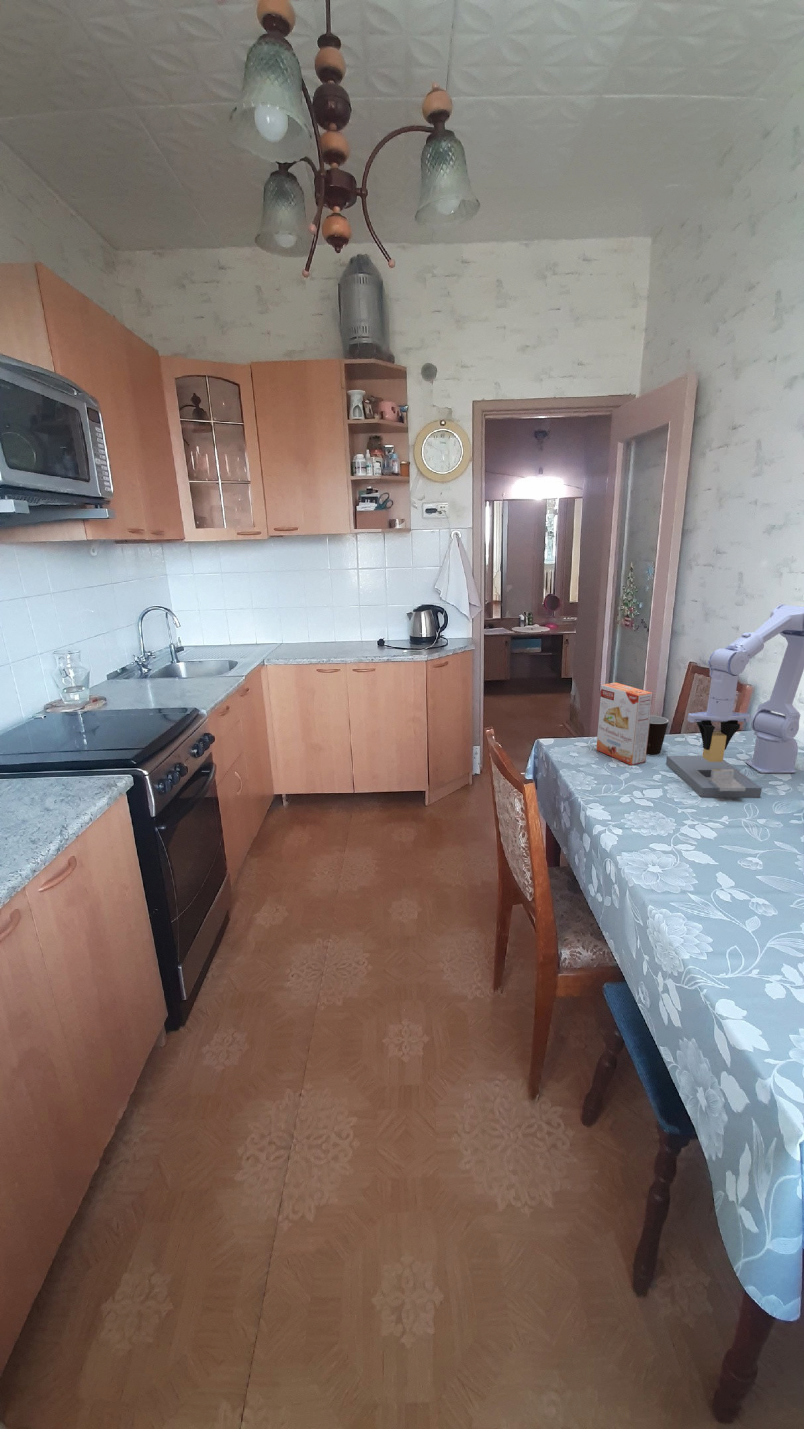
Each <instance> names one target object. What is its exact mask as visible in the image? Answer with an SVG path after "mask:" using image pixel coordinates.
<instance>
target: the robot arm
mask: <svg viewBox="0 0 804 1429" xmlns="http://www.w3.org/2000/svg"><path fill="white" fill-rule="evenodd" d="M778 635H780V636H781V637H783V638H785V640H786V641H787V646H786V648H785V652H784V655H783V657H782V661H781V664H780V667H779V670H778V673H777V677H776V679H775V682H774V686H773V689H772V691H771V694H770V695H771V696H770V698H769V700H767V701H765V702H763V703H760V704H758V706H757V709H756V711H755V713H754V714H753V715H751V714H750V713H749V712H748V713H747V712H736V711H735V712H734V706H735V701H736V693H737V688H738V687H737V686H738V679H739V675H740V674H742V673H743V672H744V670H745V669H746V667H747V665H748V664H749V662H750V660H751V659H753V658H754V657H755V656H756V655H758V654H759V653H760V652H762V651H763V649H765V648H764V647H765V643H767V642H768V641H770V640H771V639H774V637H776V636H778ZM707 666H708V667H707V668H708V669H709V678H711V679H710V686H709V691H708V692H709V693H708V699H707V700H708V701H707V707H706V711H699V712H689V713H687V717H686V718H687V719H686V720H687V721H688V722H689V723H691V724H692V723H696V724H697V727H698V729H699V731H700V735H701V739H702V740H701V742H702V748H703V749H706V750H709V749H710V744H711V738H712V734H713V731H715V729H716V727H715V725H713V723H714V722H715V723H717V722H719V723H720V732H722V733H723V734H725V735H726V736H727V737H726V743H725V750H727V748H728V745H729V743H730V741H731V739H733V738H732V737H734V735H735V734H736V732H738V731H739V730H740V728H741V724H740V723H742V722H744V723H750V727H751V729H752V731H754V733H753V735H755V742H754V749H753V754H752V760H745V762H744V763H746V764H747V765H748V766H750V767H751V768H752V769H754V770H756V772H758V773H761V774H763V773H764V774H765V773H766V774H767V773H769V774H772V773H773V774H775V773H776V774H777V773H778V774H779V773H780V774H781V773H783V774H785V773H787V774H789V773H792V774H795V773H796V772H797V771H796V770H795V768H796V767H795V766H796V762H797V757H798V752H799V745H798V742H797V740H796V738H795V737H796V736H797V734H798V732H799V728H800V719H801V713H800V712H799V711H798V710H797V709H796V707H795V706H794V705H793V703H794V700H795V697H796V694H797V691H798V688H799V685H800V682H801V678H802V676H803V674H804V606H798V605H787V604H783V603H782V604H778V605H777V606H776V607H775V608H774V609H771V612H770V615H769V618H768V619H767V620H766V621H765V622H764V623H762V624H761V626H759V627H758V628H757V629H756V630H755V631H753V632H752V631H751V632H750V631H748V632H744V633H742V634H741V636H740V637H738V638H736V640H734V641H732V642H731V643H730V644H728V645H727V646H726V647H725V648H717V649H716V650H714V651H712V653H711V654H710V656H709V659H708V660H707ZM725 750H724V751H725Z"/></svg>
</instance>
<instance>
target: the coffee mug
mask: <svg viewBox="0 0 804 1429" xmlns="http://www.w3.org/2000/svg"><path fill="white" fill-rule="evenodd" d="M668 725H669V719H667V718H666V717H664V716H660V715H659V716H658V715H653V714H651V715H650V724H649V733H648V743H647V752H646V755H650V756H652V755H653V756H657V755H660V754H661V752H662V748H663V745H664V744H663V743H664V740H665V737H666V733H667V728H668ZM659 753H660V754H659Z"/></svg>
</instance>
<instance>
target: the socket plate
mask: <svg viewBox="0 0 804 1429" xmlns="http://www.w3.org/2000/svg"><path fill="white" fill-rule="evenodd" d="M702 756H703V755H666V762H665V763H666V764H665V765H667V766H668V767H669V768H670V769H671V770H672V771H673V772H674V773H675V774H676V775H677V776H678V777H679V778H681V780H682V781H683V782H685V784H687V786H689V787H690V788H691V789H692V790H693V791H694V792H695V793H696V794H698V796H700V797H701V798H761V795H762V790H763V789H762V788H763V787H762V786H760V785H758V784H757V783H756V782H754V781H753V780H751V779H750V778H749V777H747V775H745V774H744V773H742V772H741V771H740V770H738V768H735V766H733V765H731V764H730V763H729V762H728V761H727V760H725V759H723V762H708V761H707V760H706V759H704V758H703V757H702ZM712 769H733V770H734V776H733V779H735V780H736V781H737V782H739V783H740V784H741V785H742V786H744V787H745V788H746V789H745V791H719V790H718V789H717V788H715V787H714V786H713V785H712V784H711V783H710V782H708V778H710V777H711V771H712Z"/></svg>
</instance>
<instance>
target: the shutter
mask: <svg viewBox="0 0 804 1429" xmlns="http://www.w3.org/2000/svg"><path fill="white" fill-rule="evenodd" d="M733 776H734V770H733V769H712V771H711V777H710V778H708V782H710V783H711V784H712V785H713V786H714V787H715V788H717V789H718V790H719V791H745V789H746V788H745V787H744V786H742V785H741V784H740V783H739V782H737V781H736V780H735V779H733Z"/></svg>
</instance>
